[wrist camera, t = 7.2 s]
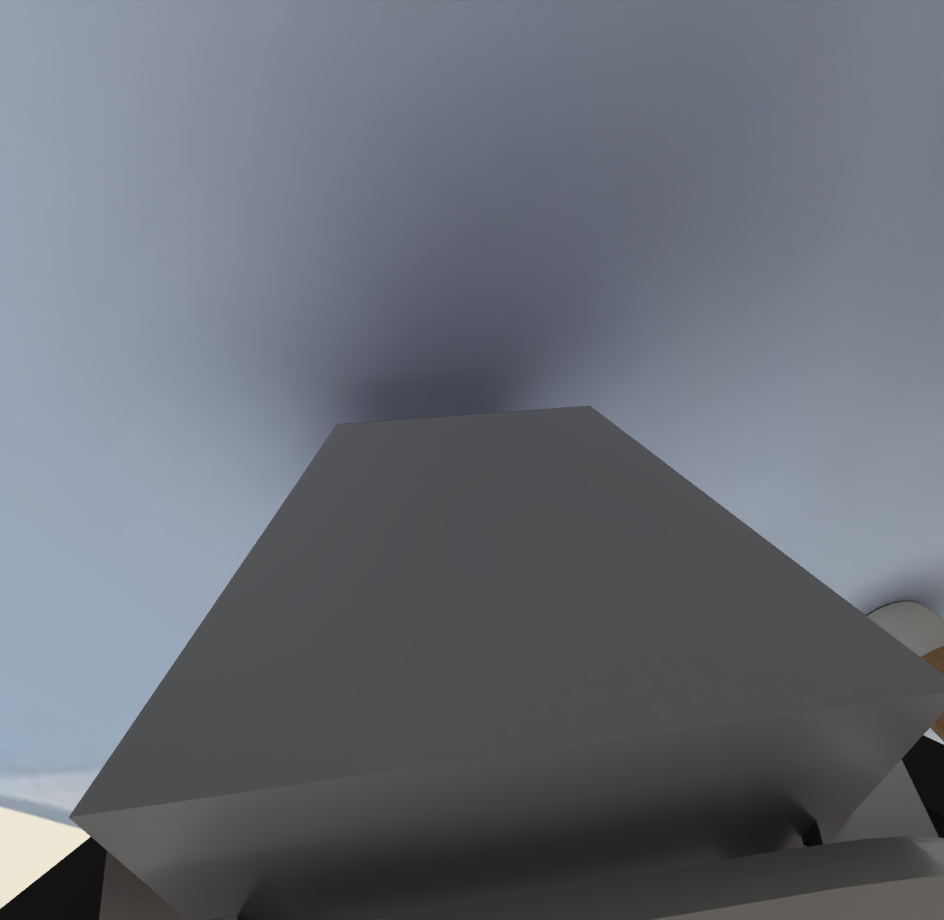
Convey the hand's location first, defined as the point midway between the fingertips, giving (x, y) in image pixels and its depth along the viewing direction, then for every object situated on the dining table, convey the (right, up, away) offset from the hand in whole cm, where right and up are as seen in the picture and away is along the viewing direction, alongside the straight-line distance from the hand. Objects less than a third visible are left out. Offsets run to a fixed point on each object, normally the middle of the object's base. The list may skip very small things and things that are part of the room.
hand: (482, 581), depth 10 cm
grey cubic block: (0, +1, +3) cm, 3 cm away
